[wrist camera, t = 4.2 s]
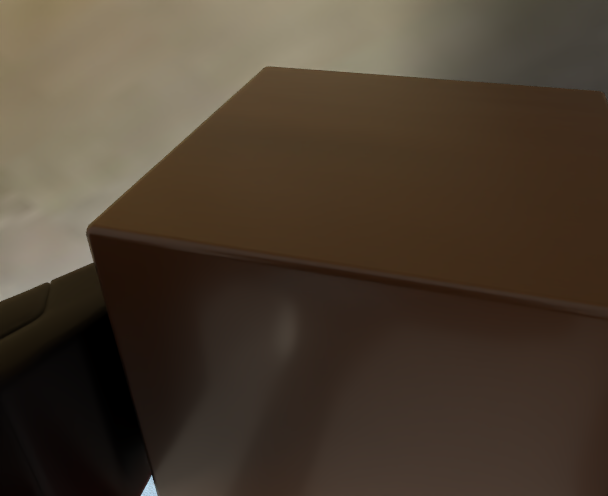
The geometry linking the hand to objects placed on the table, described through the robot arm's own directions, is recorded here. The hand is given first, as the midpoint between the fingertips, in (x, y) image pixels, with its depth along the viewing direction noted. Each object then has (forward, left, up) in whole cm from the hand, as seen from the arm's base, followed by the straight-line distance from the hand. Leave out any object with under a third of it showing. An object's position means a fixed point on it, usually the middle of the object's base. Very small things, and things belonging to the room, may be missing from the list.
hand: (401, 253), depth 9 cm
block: (0, 0, -1) cm, 1 cm away
